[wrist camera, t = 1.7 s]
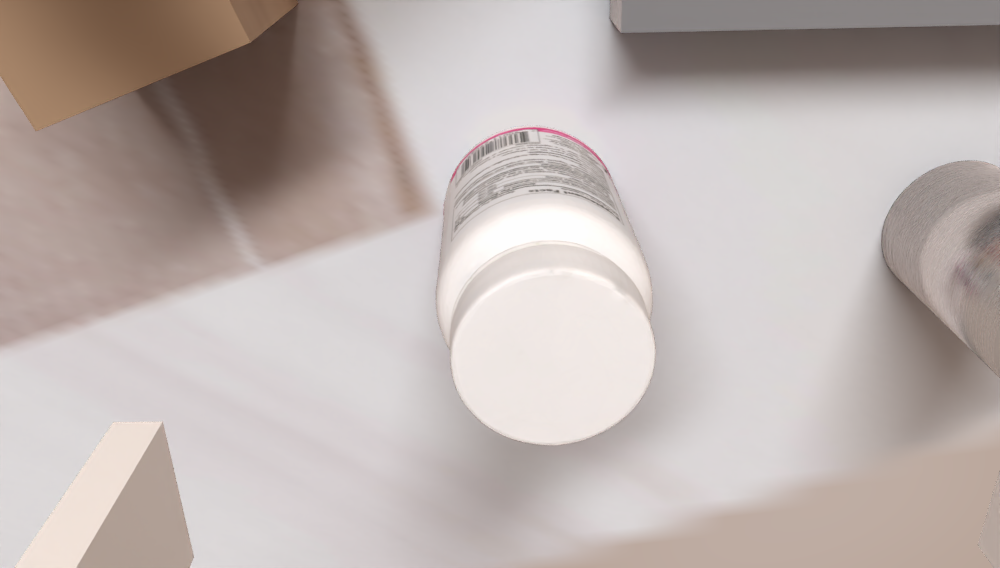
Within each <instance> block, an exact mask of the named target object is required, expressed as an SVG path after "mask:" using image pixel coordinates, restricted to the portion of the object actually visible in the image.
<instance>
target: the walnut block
mask: <svg viewBox="0 0 1000 568" xmlns="http://www.w3.org/2000/svg"><path fill="white" fill-rule="evenodd" d="M297 4H298V2H297V0H0V76H1V78H2V79H3V81H4V82H5V84H6V86H7V87H8V89H9V90H10V92H11V93H12V95H13V96H14V98H15V100H16V101H17V103H18V104H19V106H20V107H21V109H22V110H23V112H24V114H25V115H26V117H27V118H28V120H29V121H30V123H31V124H32V126H33V128H34V129H35V131H38V130H40V129H43V128H45V127H48V126H50V125H52V124H55V123H57V122H60V121H62V120H64V119H67V118H69V117H72V116H74V115H77V114H79V113H81V112H84V111H86V110H89V109H91V108H94V107H96V106H98V105H101V104H103V103H106V102H108V101H111V100H113V99H115V98H118V97H120V96H123V95H125V94H127V93H130V92H132V91H135V90H137V89H140V88H142V87H144V86H147V85H149V84H152V83H154V82H157V81H159V80H161V79H164V78H166V77H169V76H171V75H173V74H176V73H178V72H181V71H183V70H186V69H188V68H190V67H193V66H195V65H198V64H200V63H203V62H205V61H207V60H210V59H212V58H215V57H217V56H219V55H222V54H224V53H227V52H229V51H232V50H234V49H236V48H239V47H241V46H244V45H246V44H249V43H251V42H252V41H253V40H254V39H256V38H257V37H258V36H259V35H261V34H262V33H263V32H264V31H265V30H267V29H268V28H269V27H270V26H272V25H273V24H274V23H275V22H276V21H278V20H279V19H280V18H281V17H283V16H284V15H285V14H286V13H288V12H289V11H290V10H291V9H292V8H294V7H295V6H296V5H297Z"/></svg>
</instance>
